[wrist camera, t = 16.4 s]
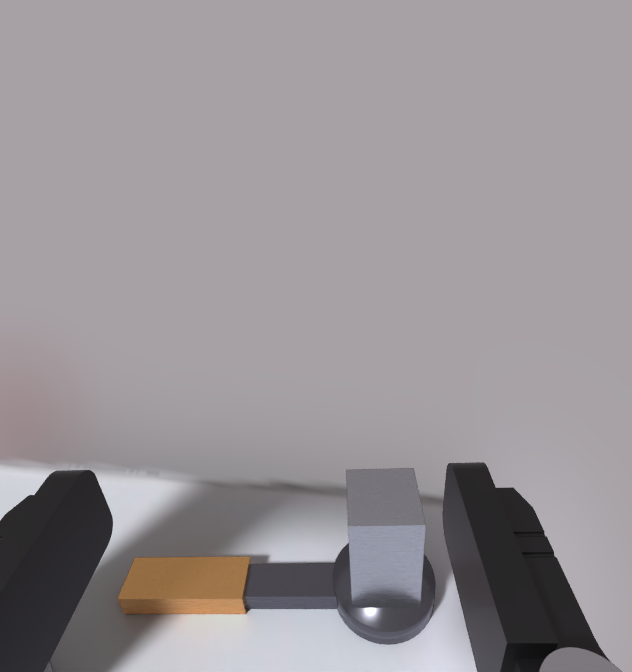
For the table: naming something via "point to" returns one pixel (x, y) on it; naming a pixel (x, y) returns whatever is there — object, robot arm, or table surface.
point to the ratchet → (267, 592)
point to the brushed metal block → (385, 538)
